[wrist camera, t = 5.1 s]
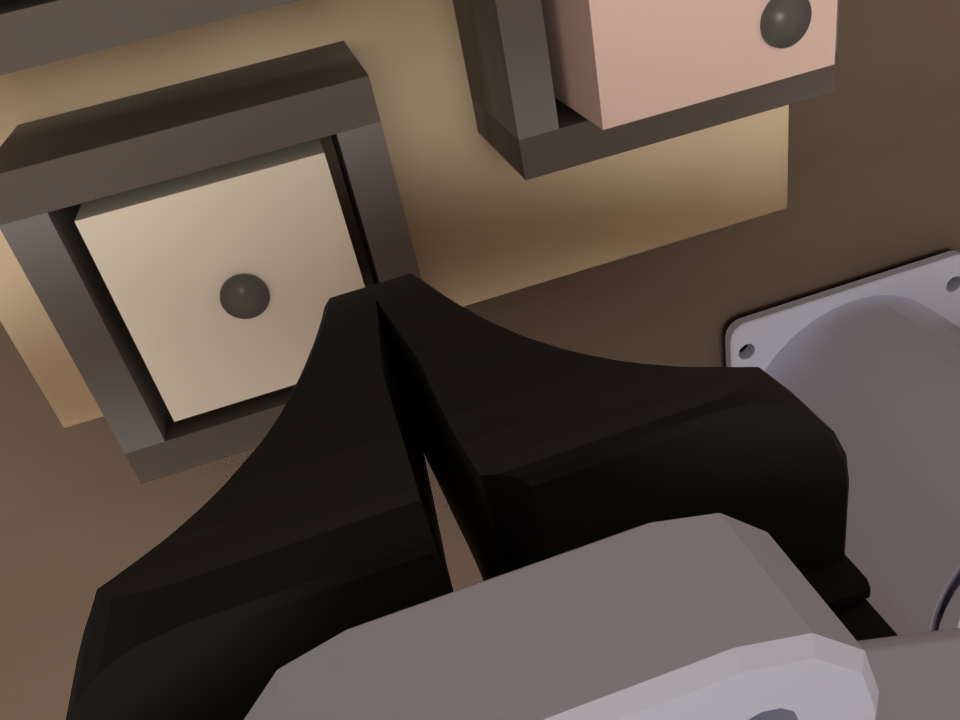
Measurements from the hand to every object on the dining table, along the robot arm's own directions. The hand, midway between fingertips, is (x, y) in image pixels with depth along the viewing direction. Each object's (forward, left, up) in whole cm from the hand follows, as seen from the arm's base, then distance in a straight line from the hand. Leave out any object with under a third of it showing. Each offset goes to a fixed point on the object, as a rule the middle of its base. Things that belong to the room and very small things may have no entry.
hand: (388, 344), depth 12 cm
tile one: (0, +2, -7) cm, 7 cm away
